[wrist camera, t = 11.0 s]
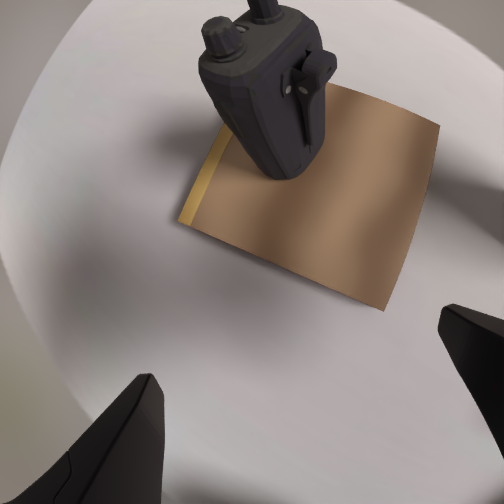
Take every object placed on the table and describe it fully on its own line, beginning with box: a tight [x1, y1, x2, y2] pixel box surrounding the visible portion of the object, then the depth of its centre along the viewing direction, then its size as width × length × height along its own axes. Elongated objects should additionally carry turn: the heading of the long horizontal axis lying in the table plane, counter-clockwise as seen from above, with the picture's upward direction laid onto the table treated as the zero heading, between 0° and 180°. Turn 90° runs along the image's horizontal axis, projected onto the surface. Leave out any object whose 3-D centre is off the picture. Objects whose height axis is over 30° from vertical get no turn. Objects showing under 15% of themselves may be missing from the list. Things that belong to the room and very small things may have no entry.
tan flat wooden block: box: [178, 82, 440, 312], centre depth 18 cm, size 14×13×2 cm
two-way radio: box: [198, 0, 337, 180], centre depth 10 cm, size 6×4×15 cm
